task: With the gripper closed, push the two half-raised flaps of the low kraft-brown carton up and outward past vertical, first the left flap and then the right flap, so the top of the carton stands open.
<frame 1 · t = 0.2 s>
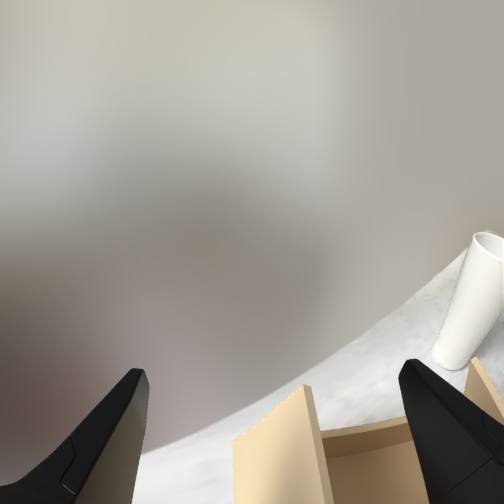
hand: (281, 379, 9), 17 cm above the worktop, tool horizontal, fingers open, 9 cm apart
drinking glass: (447, 357, 30), on the worktop
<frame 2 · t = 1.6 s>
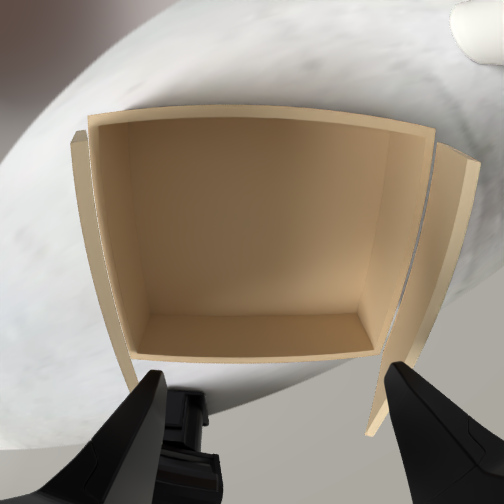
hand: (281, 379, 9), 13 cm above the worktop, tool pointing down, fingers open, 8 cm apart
flap 1: (418, 295, 14), point 9 cm above the worktop, hinge at 62.0°
carton: (258, 225, 21), on the worktop
drinking glass: (469, 33, 14), on the worktop
flap 2: (106, 298, 13), point 9 cm above the worktop, hinge at 62.0°
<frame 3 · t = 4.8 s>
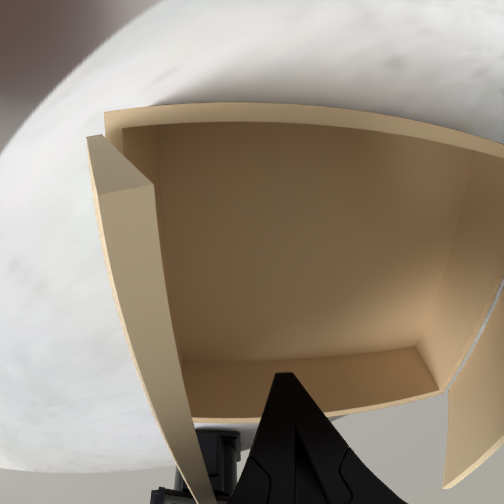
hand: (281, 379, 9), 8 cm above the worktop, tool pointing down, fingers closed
carton: (324, 258, 17), on the worktop
flap 2: (153, 393, 9), point 9 cm above the worktop, hinge at 62.4°, touching gripper
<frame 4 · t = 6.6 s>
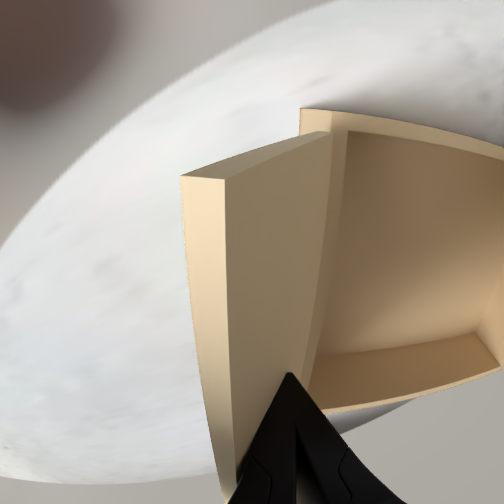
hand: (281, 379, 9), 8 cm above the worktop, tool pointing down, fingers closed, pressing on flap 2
carton: (426, 256, 18), on the worktop
flap 2: (276, 384, 9), point 9 cm above the worktop, hinge at 115.4°, touching gripper
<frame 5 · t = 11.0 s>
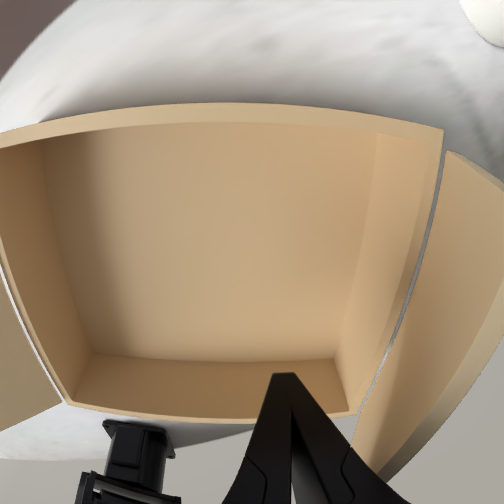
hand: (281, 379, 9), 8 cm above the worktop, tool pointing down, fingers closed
flap 1: (402, 382, 9), point 9 cm above the worktop, hinge at 62.0°, touching gripper
carton: (201, 259, 16), on the worktop
drinking glass: (482, 8, 10), on the worktop
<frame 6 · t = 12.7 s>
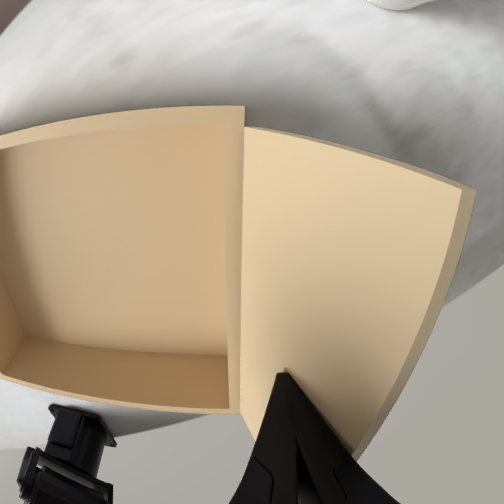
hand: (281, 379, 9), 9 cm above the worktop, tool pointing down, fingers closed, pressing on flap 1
flap 1: (288, 376, 10), point 9 cm above the worktop, hinge at 110.2°, touching gripper
carton: (90, 253, 17), on the worktop
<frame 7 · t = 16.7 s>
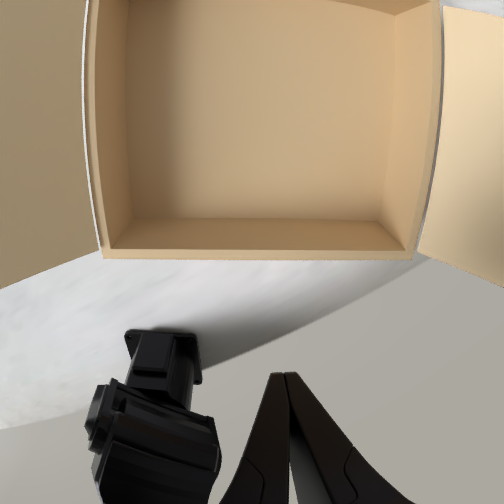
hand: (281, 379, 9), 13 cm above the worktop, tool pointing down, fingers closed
carton: (262, 103, 17), on the worktop
flap 2: (10, 130, 10), point 8 cm above the worktop, hinge at 135.7°
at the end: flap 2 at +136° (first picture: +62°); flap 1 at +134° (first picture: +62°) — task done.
